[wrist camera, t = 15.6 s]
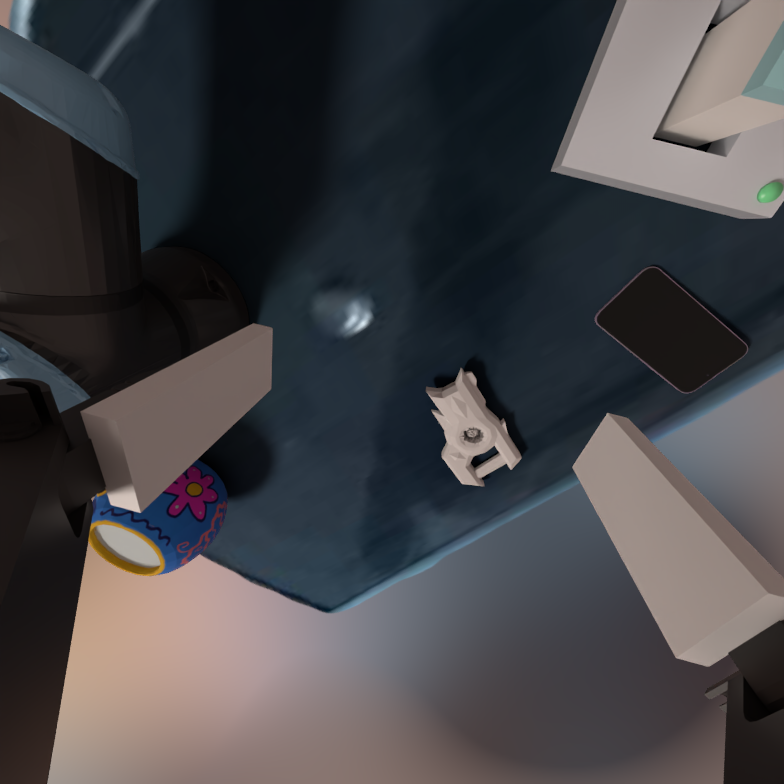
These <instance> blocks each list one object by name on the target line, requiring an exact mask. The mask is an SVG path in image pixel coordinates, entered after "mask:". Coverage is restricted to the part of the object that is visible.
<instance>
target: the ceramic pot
mask: <svg viewBox="0 0 784 784" xmlns="http://www.w3.org/2000/svg"><path fill="white" fill-rule="evenodd" d="M92 503H93V508H94V510H93V516H92V522H91V528H90V534H89V540H88V541H89V543H90V545H91V547H92V548H93V549H94V550H95V551H96V552H97V553H98V554H99V555H100V556H101V557H102V558H104V559H105V560H106V561H108V562H109V563H111V564H112V565H114V566H116V567H117V568H120V569H122V570H124V571H126V572H129V573H133V574H136V575H143V576H154V575H160V574H165V573H169V572H171V571H173V570H176V569H178V568H180V567H181V566H184V565H185V564H187V563H188V562H190V561H191V560H192V559H194V558H195V557H196V556H198V555H199V554H200V553H201V552H202V551H204V550H205V549H206V548H207V547H208V546H209V545H210V544H211V543H212V541H213V540H214V539H215V537H216V535H217V534H218V532H219V530H220V528H221V526H222V524H223V522H224V519H225V515H226V510H227V491H226V489H225V486H224V483H223V481H222V480H221V479H220V477H219V476H218V475H217V473H216V472H215V471H214V470H212V469H211V468H210V467H209V466H208V465H206V464H204V463H203V462H201V461H199V460H198V459H197V460H196V461H195V462H194V463H193V464H192V465H191V466H190V467H189V468H188V469H187V470H185V471H184V472H183V473H182V474H181V475H180V476H179V477H178V478H177V479H176V480H175V481H174V482H173V483H172V484H171V485H170V486H169V487H168V488H166V489H165V490H164V491H163V492H162V493H161V494H160V495H159V496H158V497H157V498H156V499H155V500H154V501H153V502H152V503H151V504H150V505H149V506H148V507H146V508H145V509H144V510H143V511H142V512H141V513H139V512H135V511H131V510H128V509H124V508H120V507H117V506H113V505H111V504H110V501H109V498H108V495H107V492H106V489H105V488H104V489H103V490H101V491H100V492H99V493H98V494H96V496H95V498H94V500H93V502H92Z"/></svg>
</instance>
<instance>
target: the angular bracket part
mask: <svg viewBox="0 0 784 784" xmlns="http://www.w3.org/2000/svg"><path fill="white" fill-rule="evenodd" d="M476 382H477V380H476V378H475V376H474V375H473V373H472V371H471V372H464V371H463V370H462V368H461V369H460V372H459V374H458V376H457V378H456V381H455V382H453V383H451V384H449V385H447V386H445V387H443V388H432V387H426V392H427V393H428V395H429V396H430V397H431V399H432V400H433V402H434V403H435V404H436V406H437V407H438V409H439V410H440V411H436V410H432V409H431V411H432V412H433V414H434V415H435V417H436V418H437V420H438V421H439V423H440V424H441V426H442V427H443V429H444V434H445V437H446V440H447V442H446V444H445V446H444V449H443V451H442V458H443V460H444V461H445V462H446V463H447V465H448V466H449V467H450V469H451V470H452V471H453V473H454V474H455V475H456V476H457V478H458V479H459V480H460V482H461V483H462V484H468V485H477V486H484V481H483V480H482V477H484V476H485V475H487V474H489V473H490V472H492V471H494V470H496V469H497V468H499V467H501V466H503V465H504V464H506V463H507V465H508V466H509V468H510V469H511V470H512V469H513V467H514V466H515V465H516V464H517V463H518V462H519V461H520V459H521V458H522V457H521V455H520V452H519V451H518V449H517V447H516V446H515V444H514V443H513V441H512V440H511V438H510V436H509V435H508V432H507V428H506V424H505V421H504V418H503V419H502V420H501V421H500V420H499V419H498V417H497V416H496V415H494V414H493V413H492V412H491V411H490V410H489V409H487V407H486V406H485V403H486V401H485V399H484V397H483V396H482V394H481V392H480V391H479V389H478V388H477V386H476ZM479 430H480V431H479ZM464 431H466V432H464ZM494 445H495V447H496V448H497V450H498V451H499V453H498V454H497V455H495V456H494V457H492V458H490V459H489V460H487V461H486V462H484V463H482V464H481V465H479V466H477V467H476V468H474V467H473V466H472V464H471V461H472V459H473V457H474V456H476V455H479V454H482V453H485V452H487V451H488V450H489V449H490V448H492V447H493V446H494Z"/></svg>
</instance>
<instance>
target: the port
mask: <svg viewBox="0 0 784 784" xmlns="http://www.w3.org/2000/svg"><path fill="white" fill-rule="evenodd" d="M749 1H751V0H617V2H616V4H615V7H614V9H613V12H612V15H611V17H610V20H609V22H608V25H607V27H606V30H605V33H604V35H603V38H602V40H601V43H600V45H599V48H598V51H597V53H596V56H595V58H594V61H593V63H592V66H591V69H590V71H589V74H588V76H587V79H586V81H585V84H584V87H583V89H582V92H581V94H580V97H579V99H578V102H577V105H576V107H575V110H574V112H573V115H572V117H571V120H570V123H569V125H568V128H567V130H566V133H565V135H564V138H563V141H562V143H561V146H560V148H559V151H558V153H557V156H556V159H555V161H554V164H553V166H552V169H551V171H553V172H557V173H561V174H565V175H569V176H572V177H576V178H580V179H584V180H588V181H592V182H596V183H600V184H604V185H608V186H612V187H616V188H620V189H624V190H628V191H632V192H636V193H640V194H644V195H648V196H652V197H656V198H660V199H664V200H668V201H672V202H676V203H680V204H684V205H688V206H692V207H696V208H700V209H704V210H708V211H712V212H716V213H720V214H724V215H728V216H732V217H736V218H740V219H756V218H772V216H773V215H774V214H775V212H776V211H777V209H778V208H779V207H780V205H781V204H782V202H783V201H784V119H780V120H777V121H774V122H771V123H768V124H765V125H762V126H759V127H756V128H753V129H750V130H746V131H743V132H740V133H737V134H734V135H731V136H728V137H725V138H722V139H719V140H716V141H713V142H712V143H711V145H710V147H709V149H708V150H707V152H703V151H699V150H695V149H691V148H687V147H683V146H679V145H675V144H671V143H667V142H662V141H658V140H654V139H652V138H653V136H654V134H655V132H656V130H657V128H658V126H659V124H660V122H661V120H662V118H663V116H664V114H665V112H666V110H667V108H668V106H669V104H670V102H671V100H672V98H673V96H674V94H675V92H676V90H677V88H678V86H679V84H680V82H681V80H682V78H683V76H684V74H685V72H686V70H687V68H688V66H689V64H690V62H691V60H692V58H693V56H694V54H695V52H696V50H697V48H698V46H699V44H700V42H701V40H702V38H703V36H704V34H705V32H706V30H707V28H708V26H709V24H710V23H712V24H717V25H718V24H720V23H721V22H723V21H724V20H725V19H727V18H728V17H729V16H731V15H732V14H733V13H735V12H736V11H737V10H739V9H740V8H741V7H743V6H744V5H745V4H747V3H748V2H749Z"/></svg>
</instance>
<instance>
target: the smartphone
mask: <svg viewBox="0 0 784 784" xmlns="http://www.w3.org/2000/svg"><path fill="white" fill-rule="evenodd" d="M595 322H596V324H597V325H598V326H599V327H600V328H602V329H603V330H604V331H605V332H607V333H608V332H609V333H608V334H609V335H610V336H611V337H613V338H614V339H615V340H616V341H618V342H619V343H620V344H621V345H623V346H624V345H625V346H624V347H625V348H626V349H627V350H629V351H630V352H631V353H632V354H634V355H635V356H636V357H637V358H639V359H640V360H641V361H642V362H643V363H645V362H646V363H645V364H646V365H647V366H648V367H649V368H650V369H652V370H653V371H654V372H655V373H656V374H658V375H659V376H661V375H662V376H661V377H662V378H663V379H664V380H666V379H667V380H666V381H667V382H668V383H669V384H671V385H672V386H673V387H674V388H676V389H677V390H678V391H680V392H682V393H691V392H693V391H695V390H697V389H698V388H700V387H701V386H702V385H704V384H705V383H707V382H708V381H710V380H711V379H712V378H714V377H715V376H717V375H718V374H720V373H721V372H722V371H724V370H725V369H727V368H728V367H729V366H731V365H732V364H734V363H735V362H737V361H738V360H739V359H741V358H742V357H743V356H744V355H745V354H746V353H747V351H748V346H747V344H746V343H745V342H744V341H743V340H741V339H740V338H739V337H738V336H737V335H736V334H735V333H733V332H732V331H731V330H730V329H729V328H728V327H726V326H725V325H724V324H723V323H722V322H721V321H720V320H718V319H717V318H716V317H715V316H714V315H713V314H711V313H710V312H709V311H708V310H707V309H706V308H705V307H703V306H702V305H701V304H700V303H699V302H698V301H697V300H695V299H694V298H693V297H692V296H691V295H690V294H688V293H687V292H686V291H685V290H684V289H683V288H682V287H680V286H679V285H678V284H677V283H676V282H675V281H673V280H672V279H671V278H670V277H669V276H668V275H667V274H665V273H664V272H663V271H662V270H661V269H659V268H658V267H653V266H650V267H646V268H644V269H643V270H641V271H640V272H639V273H638V274H637V275H636V276H635V277H634V278H633V279H632V280H631V281H630V282H629V283H628V284H626V285H625V286H624V287H623V288H622V289H621V290H620V291H619V292H618V293H617V294H616V295H615V296H614V297H613V298H612V299H611V300H610V301H609V302H608V303H606V304H605V305H604V306H603V307H602V308H601V309H600V310H599V311H598V312H597V314H596V316H595Z"/></svg>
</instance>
